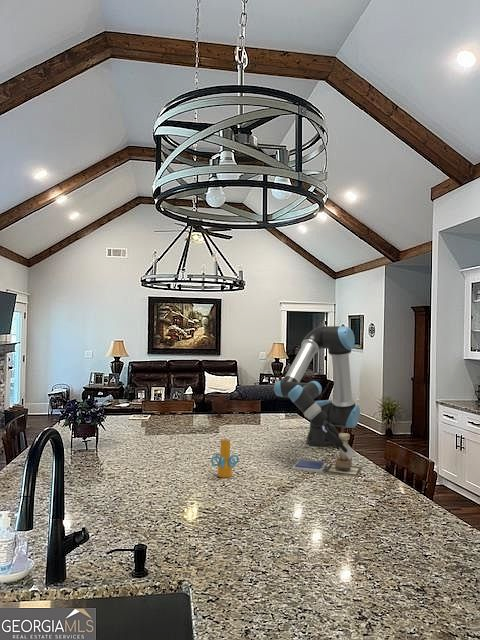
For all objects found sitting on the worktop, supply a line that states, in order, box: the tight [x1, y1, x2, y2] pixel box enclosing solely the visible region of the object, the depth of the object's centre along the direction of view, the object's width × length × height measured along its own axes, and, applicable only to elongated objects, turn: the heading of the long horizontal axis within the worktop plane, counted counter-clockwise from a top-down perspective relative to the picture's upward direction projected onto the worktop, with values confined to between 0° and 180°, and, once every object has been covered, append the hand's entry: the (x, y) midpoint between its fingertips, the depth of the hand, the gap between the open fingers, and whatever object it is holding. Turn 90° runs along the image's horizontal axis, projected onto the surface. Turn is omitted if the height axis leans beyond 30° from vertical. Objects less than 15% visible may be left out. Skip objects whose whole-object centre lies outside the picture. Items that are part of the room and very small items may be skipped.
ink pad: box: [291, 459, 328, 473], centre depth 240 cm, size 13×13×2 cm
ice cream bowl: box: [211, 395, 228, 419], centre depth 368 cm, size 11×11×15 cm
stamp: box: [334, 432, 353, 470], centre depth 236 cm, size 7×6×14 cm
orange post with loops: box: [210, 438, 240, 479], centre depth 224 cm, size 12×10×15 cm
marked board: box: [324, 463, 363, 478], centre depth 235 cm, size 14×14×1 cm
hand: (352, 456), depth 234 cm, fingers closed on stamp, 3 cm apart
